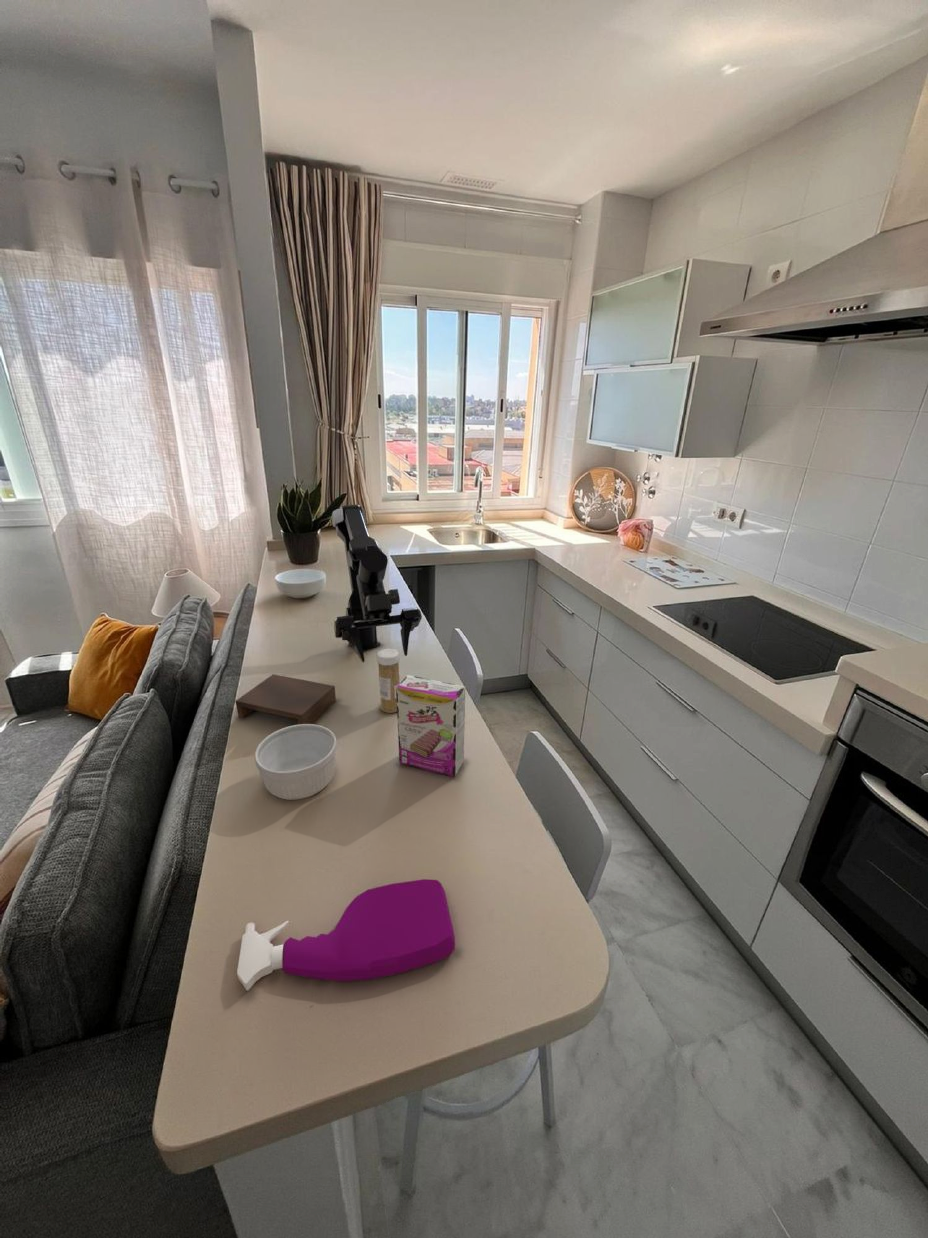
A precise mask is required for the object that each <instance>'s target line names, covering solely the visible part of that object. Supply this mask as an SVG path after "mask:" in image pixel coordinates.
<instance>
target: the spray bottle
mask: <svg viewBox="0 0 928 1238" xmlns="http://www.w3.org/2000/svg"><path fill="white" fill-rule="evenodd" d="M447 899H448V898H447V894H446V891H445V889H444V887H443V885H442V883H441V881H439V880H437V879H424V878H423V879H417V880H410V881H401V882H395V883H390V884H385V885H381V886H377V887H372V888H368V889H366V890H365V891H363V892H361V893H359V894H358V895H357V896H356V897H355V898H353V900H352V901H351V902H350V903H349V904H348V905H347V907H345V909H344V911H343V913H342V915H341V917H340V918H339V920H338V922H337V923H336V926H335V928H333V930H331V931H330V932H328V933H327V934H326V933H320V934H318V935H317V936H308V935H306V936H305V937H303V938H301V939H297V938H294V937H291V936H289V937H288V938H287V939H285V941H284V943H282V944H279V945H275V946H274V944H273V943H271V941H272V940H273V939H274V938H276V936H277V935H279V934H280V933H281V932H282V931H283V930H284V929H286V927H288V926H289V925H290V921H289V920H286V921H284V922H282V923H281V924H280V925H278V926H276V927H274V928H272V929H270V930H268V931H266V932H263V933H259V932H258V931H257V930H256V924H255V922H248V923H247V924H246V925H245V929H244V930H245V931H244V933H243V934H242V937H241V944H240V951H239V957H238V962H237V963H238V964H237V970H236V975H237V979H238V980H239V982H240V983H241V984H242V986H243V987H244V989H245V990H246V991H250V989H251V988H252V987H253V986H254V984H255V983H256V982H257V981H259V980H260V979H261V978H262V977H265V976H267V975H269V974H271V973H272V974H273V971H275V970H280V969H283V973H284V974H287V975H292V976H297V977H299V976H300V977H303V978H304V977H305V978H311V979H317V980H325V981H336V982H353V981H367V980H372V979H373V980H374V979H379V978H384V977H389V976H390V977H391V976H394V975H399V974H402V973H405V972H409V971H412V970H415V969H419V968H423V967H426V966H429V965H432V964H434V963H437V962H440V961H441V960H444V959H446V958H448V957H451V955H452V953H453V952H454V951H455V950H456V935H455V932H454V926H453V921H452V917H451V913H450V909H449V908H450V907H449V903H448V900H447Z"/></svg>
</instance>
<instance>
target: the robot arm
mask: <svg viewBox="0 0 928 1238" xmlns="http://www.w3.org/2000/svg"><path fill="white" fill-rule="evenodd" d="M366 517H367V516H366V510H365V508H363V507H362V505H360V504H344V505H342V506H341V507H339V508H336V509H334V510H333V511H332V513H331V520H332V527H333V528H335V532H336V536H337V537H339V539H340V540H341V541H342V542H343V544H344V550H345V557H346V563H347V570H348V576H349V582H350V589H351V594H350V596H349V598H348V602H347V607H346V609H345V615H341V616H336V617H335V618H334V620H333V622H334V623H333V630H334V637H335V638H336V639H341V641H347V643H348V646H350V647H352V648H353V649H354V651H355V653H356V654H357V656H358V657H359V660H360V661H361V663H365V662H366V661H365V654H364V652H365V651H368V650H371V649H374V648H376V647H380V646H381V644H382V643H381V642H380V641H378V634H377V632H378V631H377V627H383V626H391V625H398V624H399V625H400V638H401V645H402V652H403V654H404V657H406V656H407V655H408V652H409V651H408V649H409V641H410V634H411V632H413V631H414V630H415V628H417V627H419V626H420V623H421V621H422V619H423V616H422V611H421V609H419V607H417V606H416V607H408V608H407V607H406V608H402V609H401V612H400V614H395V615H391V614H392V611H393V605H399V604H400V603H401V598H400V593H399V589H398V588H395V589H389V590H387V592H386V589H385V586H384V579H385V576H386V573H387V566H388V564H389V562H388V560H389V559H388V556H387V554H385V553H384V551H383V549H382V548H381V547H379V544H378V542H377V540H376V539H375V538H372V537H371V536H370V535H369V532H368V530H367V526H366V523H367V518H366Z"/></svg>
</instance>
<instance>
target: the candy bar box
mask: <svg viewBox="0 0 928 1238" xmlns="http://www.w3.org/2000/svg"><path fill="white" fill-rule="evenodd" d="M396 698H397V712H396V717H397V738H398V742H397V743H398V759H399V760H398V762H399V764H400V765H404V766H409V767H413V768H417V769H421V770H425V771H429V772H433V773H437V774H441V775H445V776H448V777H453V778H456V777H457V774H458V772H459V770H460V769H461V767H462V766H463V764H464V761H465V719H466V718H465V717H466V716H465V715H466V686H465V685H462V684H461V685H460V684H456V683H450V682H445V681H439V680H434V679H430V678H425V677H421V676H416V675H411V674H407V675H406V676H405V677H404V678H403V679H402V681H400V683H399V684H398V686H397V687H396Z"/></svg>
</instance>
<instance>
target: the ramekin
mask: <svg viewBox="0 0 928 1238" xmlns="http://www.w3.org/2000/svg"><path fill="white" fill-rule="evenodd" d="M337 750H338V743H337V738H336V735H335V733H334V732H333V731H332V730H331V729H329V728H327V727H325V726H323V725H320V724H315V723H313V724H299V725H298V724H294V725H293V724H292V725H289V726H286V727H283V728H280V729H278V730H276V731H274V732H272V733H269V735H267V736H266V737H265V738H264V739H262V741H260V743H259V744H258V745H257V747H256V749H255V752H254V761H255V766H256V768H257V770H258V771H259V773H260V775H261V779H262V782H263V784H264V787H265V788H266V790H267V791H268V792H269V793H270V794H272V795H273V796H275V797H277V798H279V799H282V800H285V801H286V800H288V801H297V800H304V799H307V798H309V797H312V796H314V795H316V794H318V793H319V792H321V791H322V790H323V789H325V788H326V787H327V785H329V784H330V782H331V781H332V779H333V777H334V775H335V772H336V760H337V759H336V758H337V757H336V756H337Z"/></svg>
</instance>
